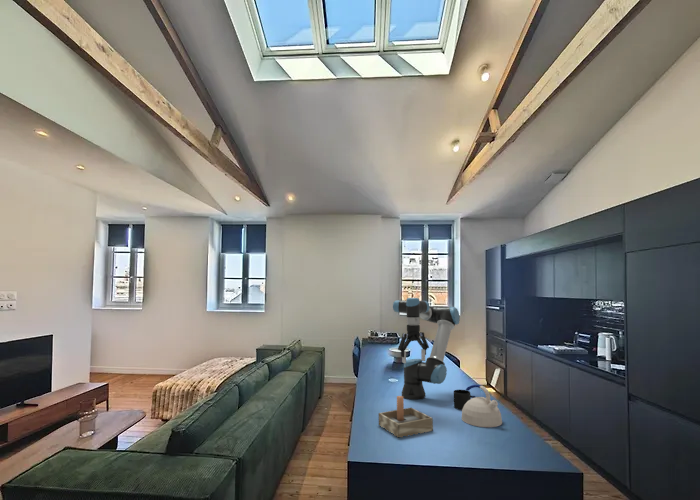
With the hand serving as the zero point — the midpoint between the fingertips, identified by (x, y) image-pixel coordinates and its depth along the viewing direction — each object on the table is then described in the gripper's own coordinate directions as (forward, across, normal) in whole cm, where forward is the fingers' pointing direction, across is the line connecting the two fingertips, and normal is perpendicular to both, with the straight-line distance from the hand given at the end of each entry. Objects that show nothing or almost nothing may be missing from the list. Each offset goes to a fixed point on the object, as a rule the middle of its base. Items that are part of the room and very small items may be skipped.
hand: (413, 361), depth 219 cm
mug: (+27, +28, -10) cm, 40 cm away
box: (+27, -21, -21) cm, 40 cm away
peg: (+27, -21, -17) cm, 38 cm away
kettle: (+27, +21, -30) cm, 46 cm away
